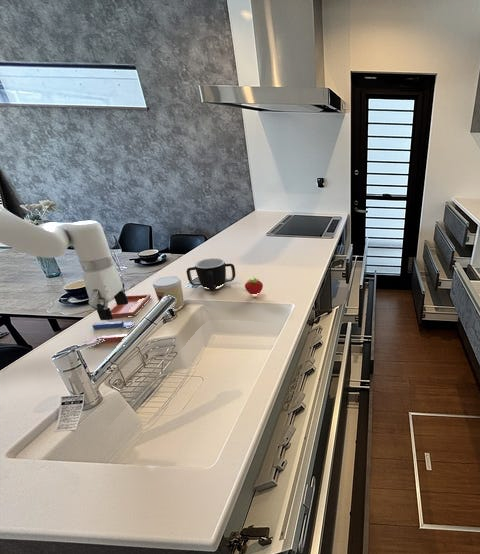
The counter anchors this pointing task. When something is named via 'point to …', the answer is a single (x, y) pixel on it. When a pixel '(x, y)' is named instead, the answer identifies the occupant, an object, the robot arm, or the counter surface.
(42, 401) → the counter surface
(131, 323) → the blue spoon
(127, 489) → the counter surface
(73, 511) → the counter surface
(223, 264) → the mug
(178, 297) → the coffee cup
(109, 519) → the counter surface
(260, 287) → the strawberry
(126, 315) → the red tray
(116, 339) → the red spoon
